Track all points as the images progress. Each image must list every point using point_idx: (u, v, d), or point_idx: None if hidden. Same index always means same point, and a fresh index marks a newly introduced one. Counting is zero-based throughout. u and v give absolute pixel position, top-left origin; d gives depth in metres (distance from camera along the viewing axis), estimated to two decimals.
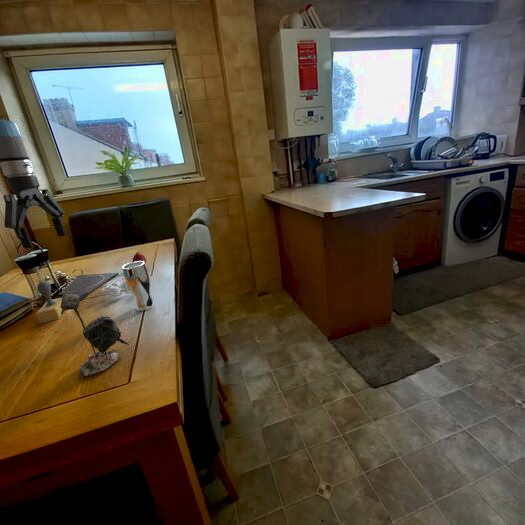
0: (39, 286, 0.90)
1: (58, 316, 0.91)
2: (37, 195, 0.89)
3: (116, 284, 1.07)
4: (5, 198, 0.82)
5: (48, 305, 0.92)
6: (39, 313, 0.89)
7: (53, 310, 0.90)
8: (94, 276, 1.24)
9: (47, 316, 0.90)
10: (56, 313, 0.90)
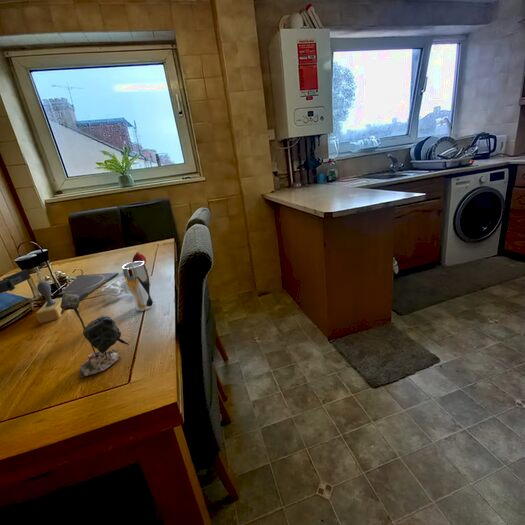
0: (39, 286, 0.90)
1: (58, 316, 0.91)
2: None
3: (116, 284, 1.07)
4: None
5: (48, 305, 0.92)
6: (39, 313, 0.89)
7: (53, 310, 0.90)
8: (94, 276, 1.24)
9: (47, 316, 0.90)
10: (56, 313, 0.90)
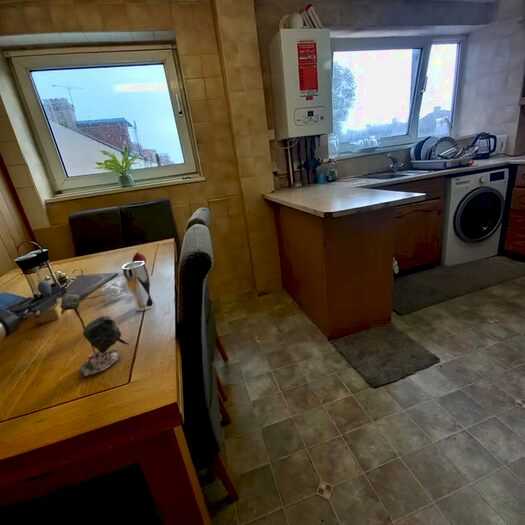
0: (39, 286, 0.90)
1: (58, 316, 0.91)
2: None
3: (116, 284, 1.07)
4: None
5: None
6: None
7: (53, 310, 0.90)
8: (94, 276, 1.24)
9: (47, 316, 0.90)
10: (56, 313, 0.90)
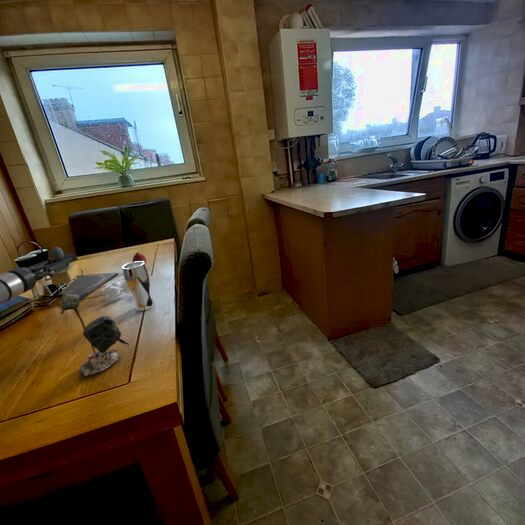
0: (53, 251, 0.97)
1: (70, 279, 0.98)
2: None
3: (116, 284, 1.07)
4: None
5: None
6: (53, 276, 0.96)
7: (65, 273, 0.97)
8: (94, 276, 1.24)
9: (60, 278, 0.97)
10: (68, 276, 0.97)
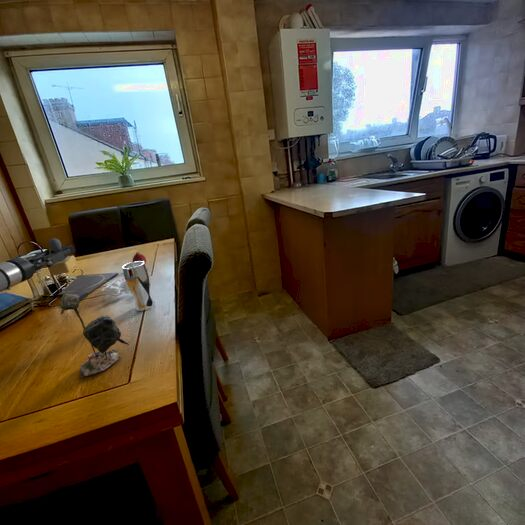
0: (50, 242, 0.98)
1: (68, 270, 0.99)
2: None
3: (116, 284, 1.07)
4: None
5: None
6: (51, 266, 0.97)
7: (63, 264, 0.98)
8: (94, 276, 1.24)
9: (58, 269, 0.98)
10: (66, 267, 0.99)
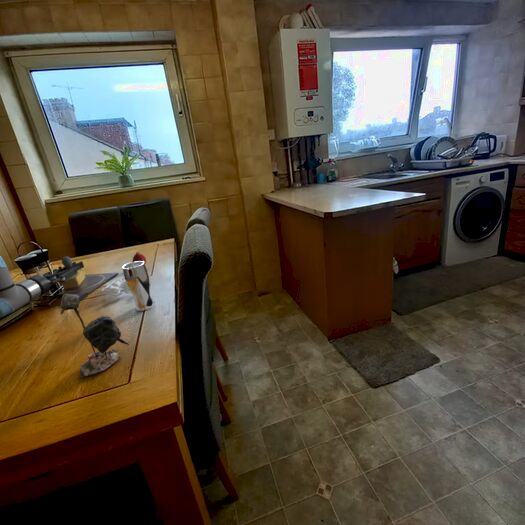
0: (63, 260, 1.13)
1: (78, 284, 1.14)
2: None
3: (116, 284, 1.07)
4: None
5: None
6: None
7: (74, 279, 1.13)
8: (94, 276, 1.24)
9: (69, 283, 1.13)
10: (76, 281, 1.14)
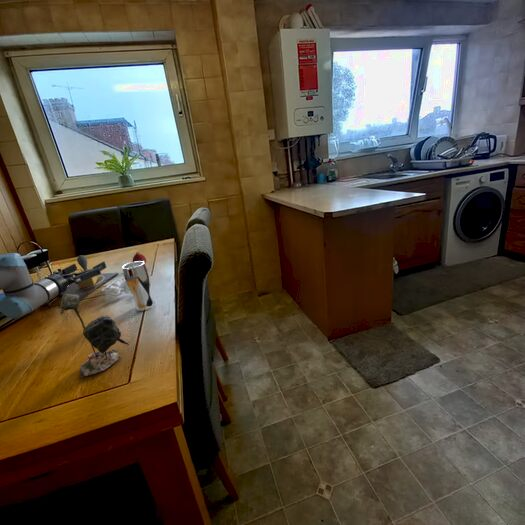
0: (79, 258, 1.12)
1: (93, 283, 1.13)
2: None
3: (116, 284, 1.07)
4: None
5: None
6: None
7: (90, 278, 1.12)
8: None
9: (85, 282, 1.12)
10: (92, 280, 1.13)
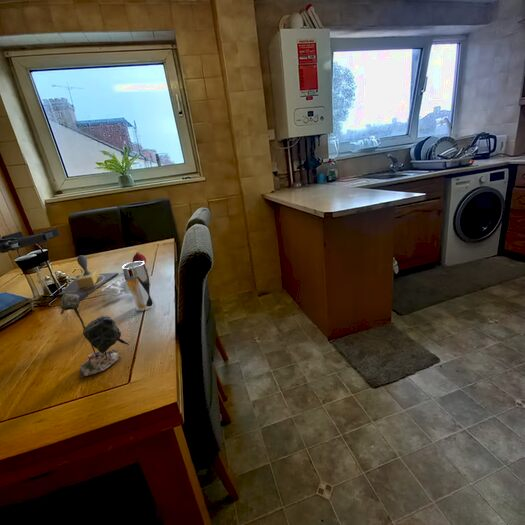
0: (79, 258, 1.12)
1: (93, 283, 1.13)
2: (3, 252, 0.83)
3: (116, 284, 1.07)
4: None
5: (85, 274, 1.15)
6: (79, 280, 1.11)
7: (90, 278, 1.12)
8: None
9: (85, 282, 1.12)
10: (92, 280, 1.13)
